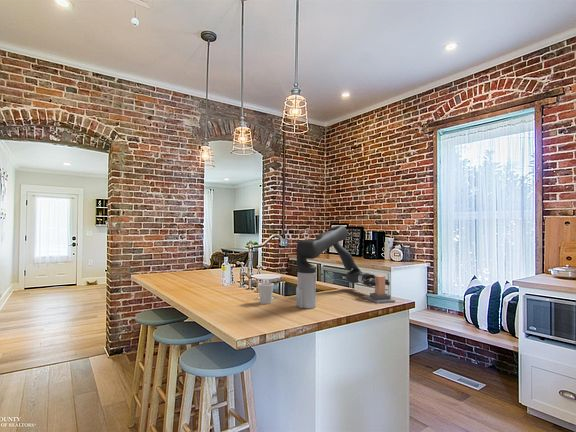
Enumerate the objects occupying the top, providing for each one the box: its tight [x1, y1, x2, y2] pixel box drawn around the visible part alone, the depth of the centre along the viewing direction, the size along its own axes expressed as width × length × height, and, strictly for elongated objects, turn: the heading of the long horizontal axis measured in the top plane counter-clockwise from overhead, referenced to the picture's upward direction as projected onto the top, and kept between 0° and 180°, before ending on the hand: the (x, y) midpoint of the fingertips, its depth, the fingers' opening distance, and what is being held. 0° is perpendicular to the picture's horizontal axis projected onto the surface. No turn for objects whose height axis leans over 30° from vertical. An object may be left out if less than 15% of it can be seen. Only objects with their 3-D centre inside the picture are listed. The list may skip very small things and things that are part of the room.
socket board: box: [362, 292, 396, 304], centre depth 184 cm, size 11×15×3 cm
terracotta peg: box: [374, 275, 386, 296], centre depth 185 cm, size 4×4×12 cm
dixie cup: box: [257, 281, 275, 305], centre depth 175 cm, size 8×8×10 cm
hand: (382, 283), depth 183 cm, fingers open, 8 cm apart
